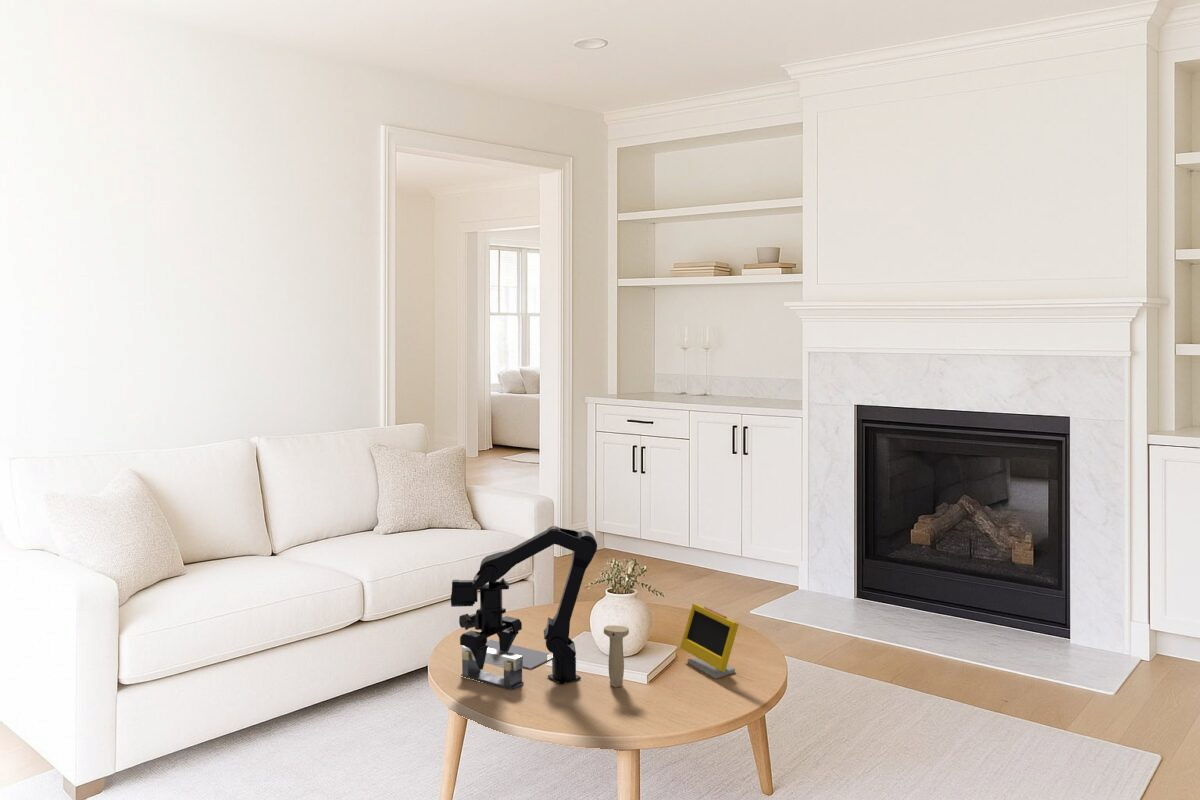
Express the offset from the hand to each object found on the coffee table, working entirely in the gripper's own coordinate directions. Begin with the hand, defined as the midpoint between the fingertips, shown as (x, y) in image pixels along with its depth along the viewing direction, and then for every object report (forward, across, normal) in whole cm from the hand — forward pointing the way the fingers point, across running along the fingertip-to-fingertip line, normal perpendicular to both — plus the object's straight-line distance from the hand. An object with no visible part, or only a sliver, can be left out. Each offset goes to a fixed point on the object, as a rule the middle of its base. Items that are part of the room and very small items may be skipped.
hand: (491, 664), depth 247 cm
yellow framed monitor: (+5, -39, +44) cm, 59 cm away
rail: (0, 0, 0) cm, 0 cm away
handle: (+5, -15, +29) cm, 33 cm away
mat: (+4, -18, -8) cm, 20 cm away
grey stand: (+4, 0, 0) cm, 4 cm away
